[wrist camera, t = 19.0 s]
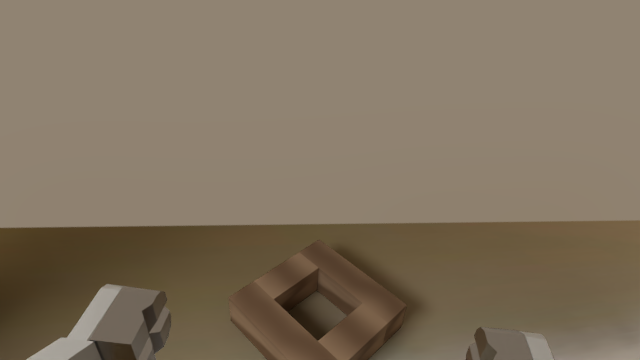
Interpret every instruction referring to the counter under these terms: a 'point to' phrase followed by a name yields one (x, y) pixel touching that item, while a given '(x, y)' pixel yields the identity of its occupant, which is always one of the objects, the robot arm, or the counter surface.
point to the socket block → (338, 287)
